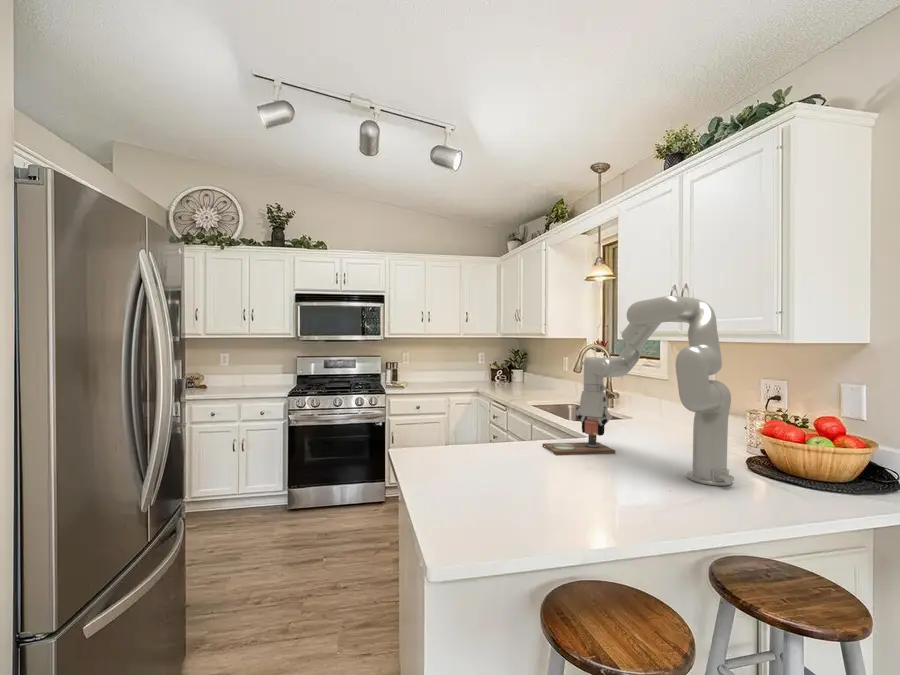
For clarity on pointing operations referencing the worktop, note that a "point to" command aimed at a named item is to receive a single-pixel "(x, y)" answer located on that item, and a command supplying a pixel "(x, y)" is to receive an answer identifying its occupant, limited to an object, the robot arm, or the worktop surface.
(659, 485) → the worktop surface
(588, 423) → the cap
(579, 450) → the post board
